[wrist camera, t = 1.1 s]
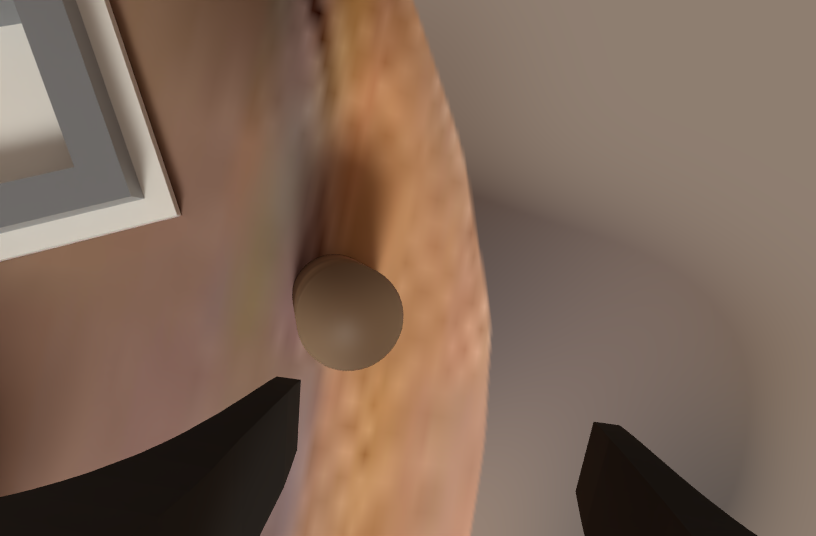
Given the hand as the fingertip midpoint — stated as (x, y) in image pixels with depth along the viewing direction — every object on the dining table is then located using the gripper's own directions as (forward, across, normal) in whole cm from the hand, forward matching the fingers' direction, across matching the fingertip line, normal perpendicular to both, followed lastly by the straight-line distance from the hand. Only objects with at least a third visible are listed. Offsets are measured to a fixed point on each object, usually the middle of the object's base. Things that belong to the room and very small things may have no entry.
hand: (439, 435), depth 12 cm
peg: (+12, +5, +2) cm, 13 cm away
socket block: (+9, +19, -5) cm, 22 cm away
